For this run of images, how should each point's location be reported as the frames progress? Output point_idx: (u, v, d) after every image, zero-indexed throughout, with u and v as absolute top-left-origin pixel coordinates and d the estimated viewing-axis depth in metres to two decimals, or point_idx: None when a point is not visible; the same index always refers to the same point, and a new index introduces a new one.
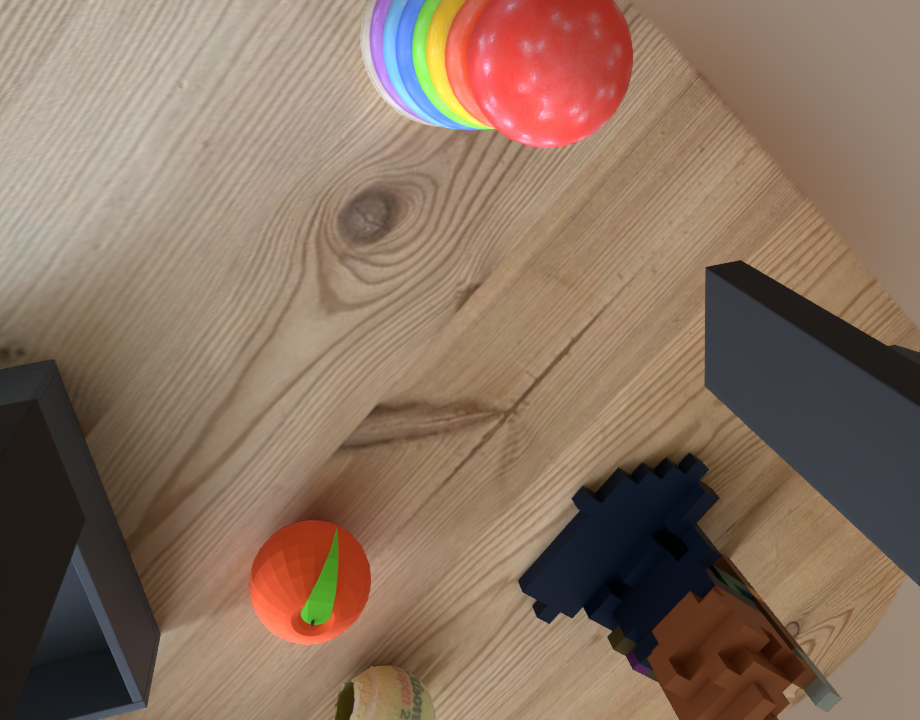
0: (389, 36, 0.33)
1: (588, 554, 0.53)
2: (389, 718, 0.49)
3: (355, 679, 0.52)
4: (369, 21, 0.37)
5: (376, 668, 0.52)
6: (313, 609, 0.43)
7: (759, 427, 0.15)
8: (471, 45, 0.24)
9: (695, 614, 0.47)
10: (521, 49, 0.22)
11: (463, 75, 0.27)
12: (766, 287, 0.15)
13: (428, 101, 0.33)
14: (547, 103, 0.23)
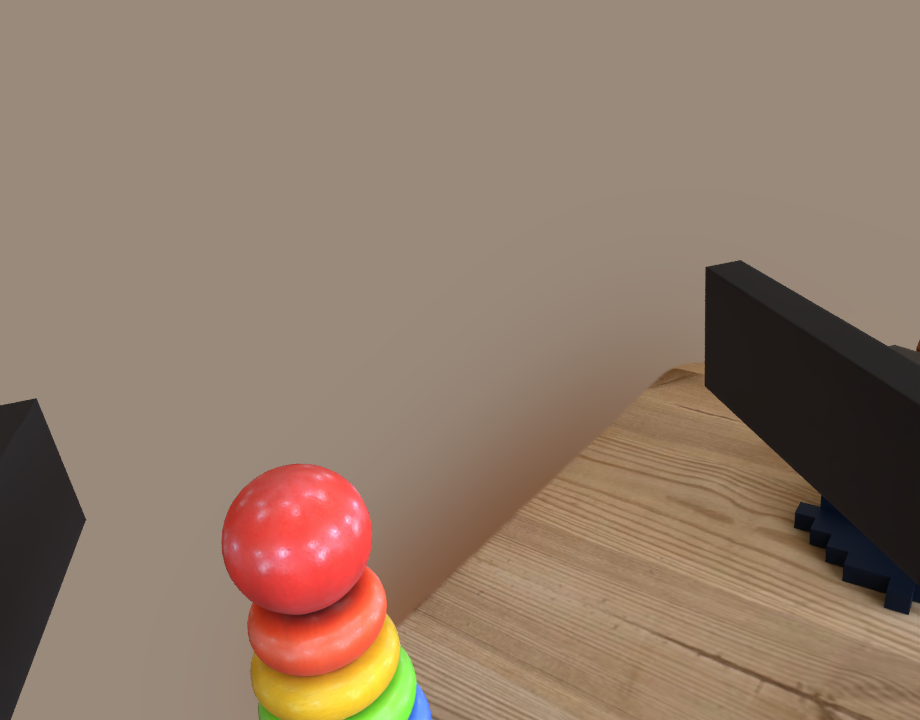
0: None
1: None
2: None
3: None
4: None
5: None
6: None
7: (759, 427, 0.15)
8: (271, 587, 0.25)
9: None
10: (263, 518, 0.25)
11: (321, 636, 0.27)
12: (766, 287, 0.15)
13: None
14: (309, 491, 0.26)
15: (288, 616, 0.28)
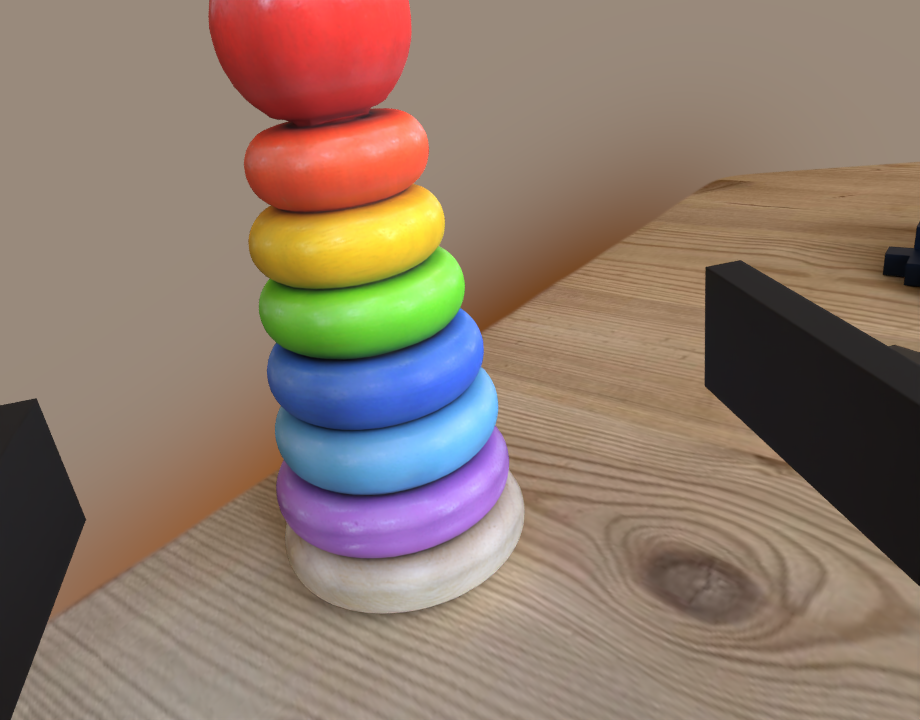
0: (366, 455, 0.22)
1: None
2: None
3: None
4: (371, 576, 0.23)
5: None
6: None
7: (758, 427, 0.15)
8: (277, 31, 0.18)
9: None
10: None
11: (345, 136, 0.20)
12: (766, 287, 0.15)
13: (439, 350, 0.22)
14: None
15: (299, 130, 0.20)
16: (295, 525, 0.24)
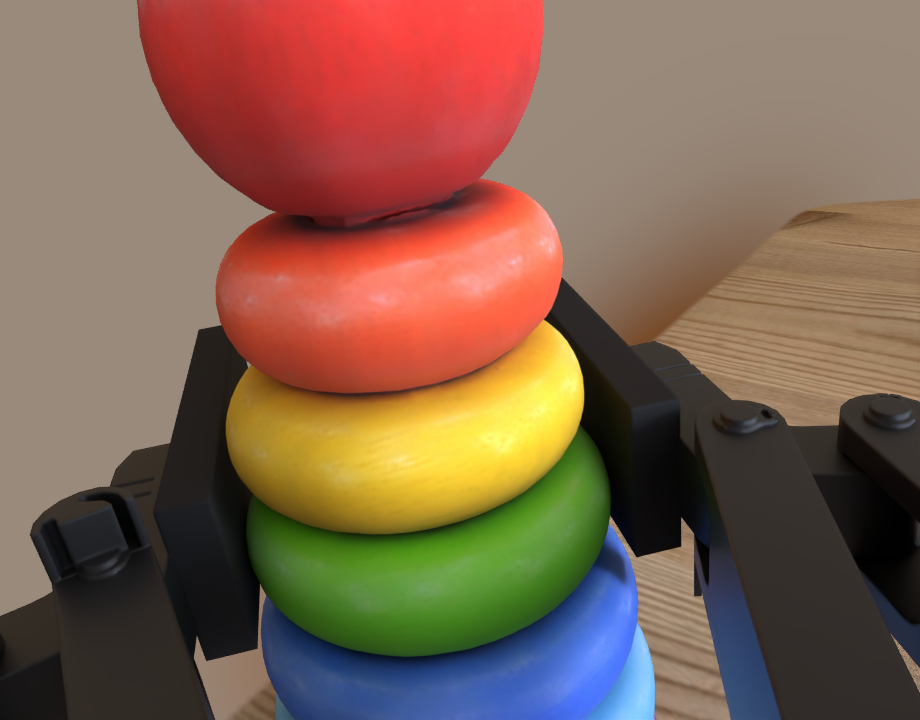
0: None
1: None
2: None
3: None
4: None
5: None
6: None
7: None
8: (279, 42, 0.08)
9: None
10: None
11: (418, 258, 0.09)
12: None
13: (578, 629, 0.12)
14: None
15: (322, 235, 0.10)
16: None
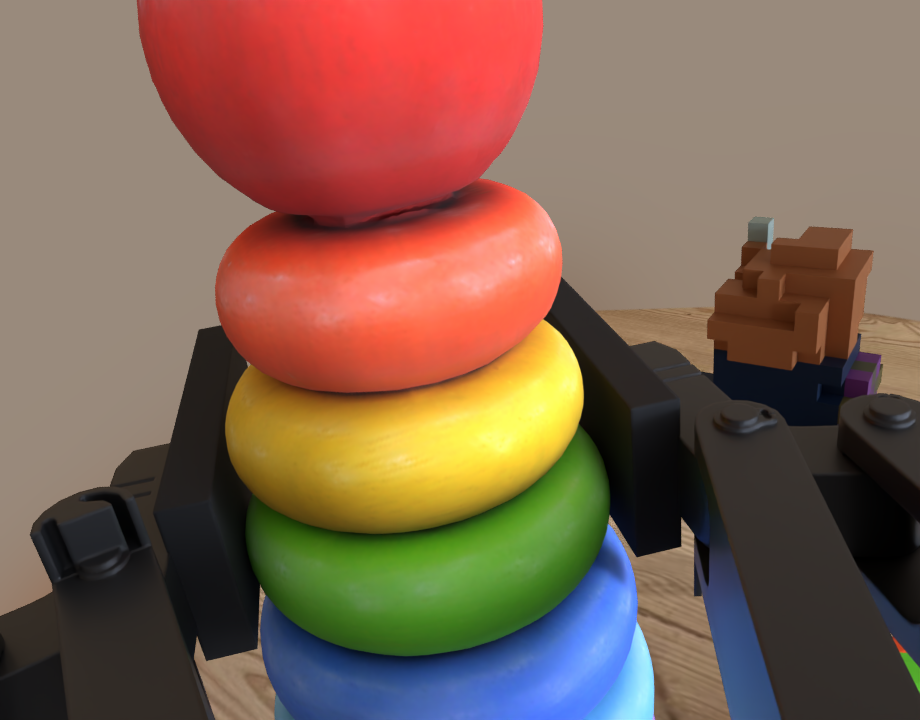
0: None
1: None
2: None
3: None
4: None
5: None
6: None
7: None
8: (279, 42, 0.08)
9: (737, 337, 0.44)
10: None
11: (418, 257, 0.09)
12: None
13: (577, 629, 0.12)
14: None
15: (321, 235, 0.10)
16: None
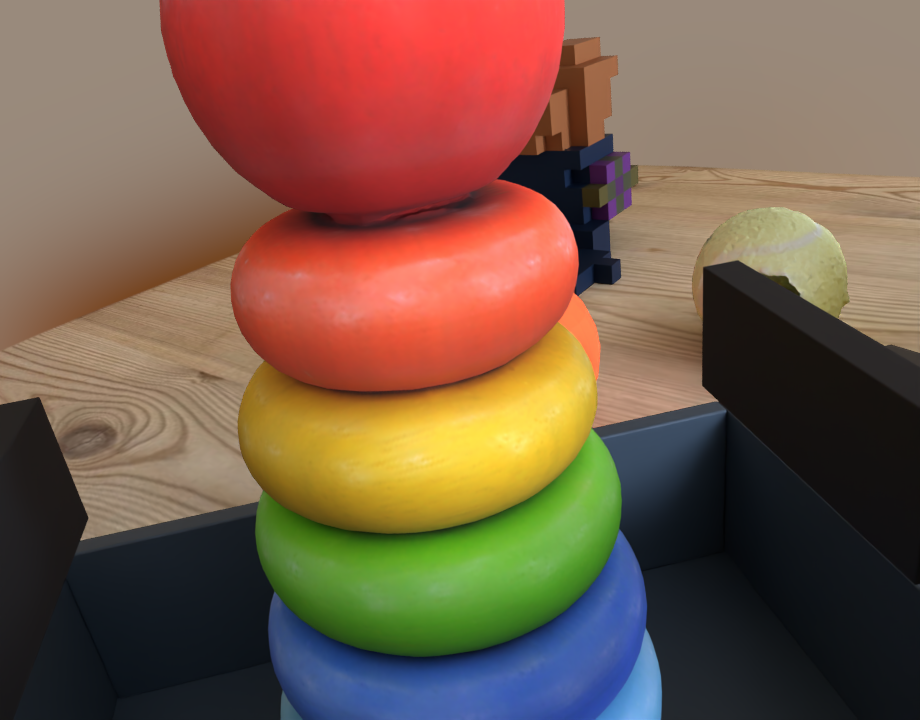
0: None
1: None
2: (713, 242, 0.35)
3: None
4: None
5: None
6: None
7: (755, 427, 0.15)
8: (305, 38, 0.08)
9: None
10: None
11: (438, 256, 0.09)
12: (763, 287, 0.15)
13: (588, 631, 0.12)
14: None
15: (340, 233, 0.10)
16: None
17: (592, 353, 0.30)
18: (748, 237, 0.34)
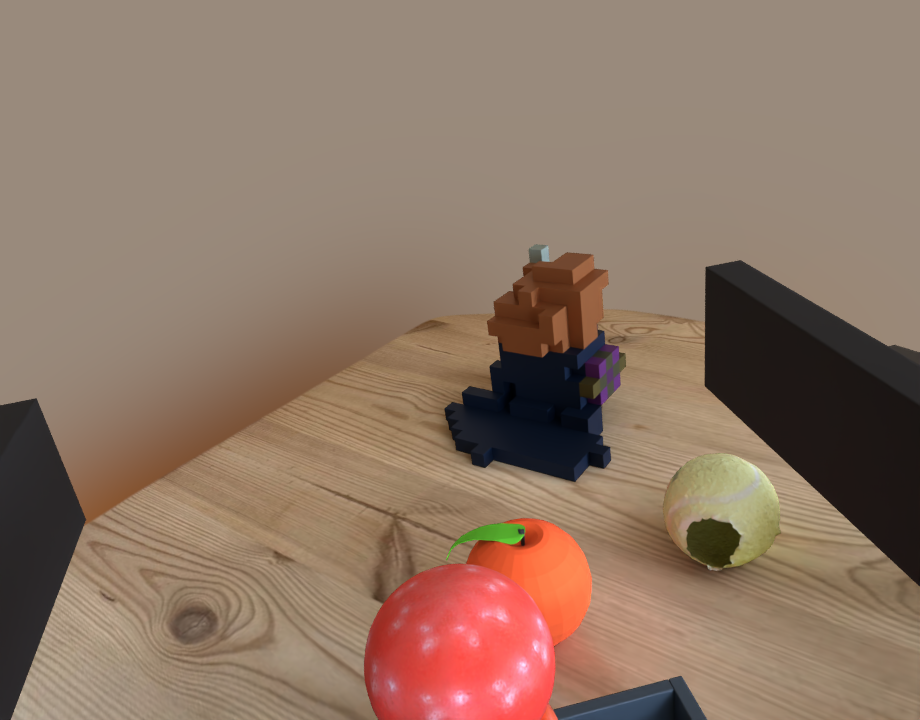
0: None
1: (531, 440, 0.60)
2: (678, 484, 0.46)
3: (685, 550, 0.46)
4: None
5: (674, 542, 0.47)
6: (506, 534, 0.42)
7: (759, 427, 0.15)
8: None
9: (507, 334, 0.61)
10: (431, 650, 0.19)
11: None
12: (766, 287, 0.15)
13: None
14: (486, 611, 0.20)
15: None
16: None
17: (585, 592, 0.41)
18: (703, 487, 0.45)
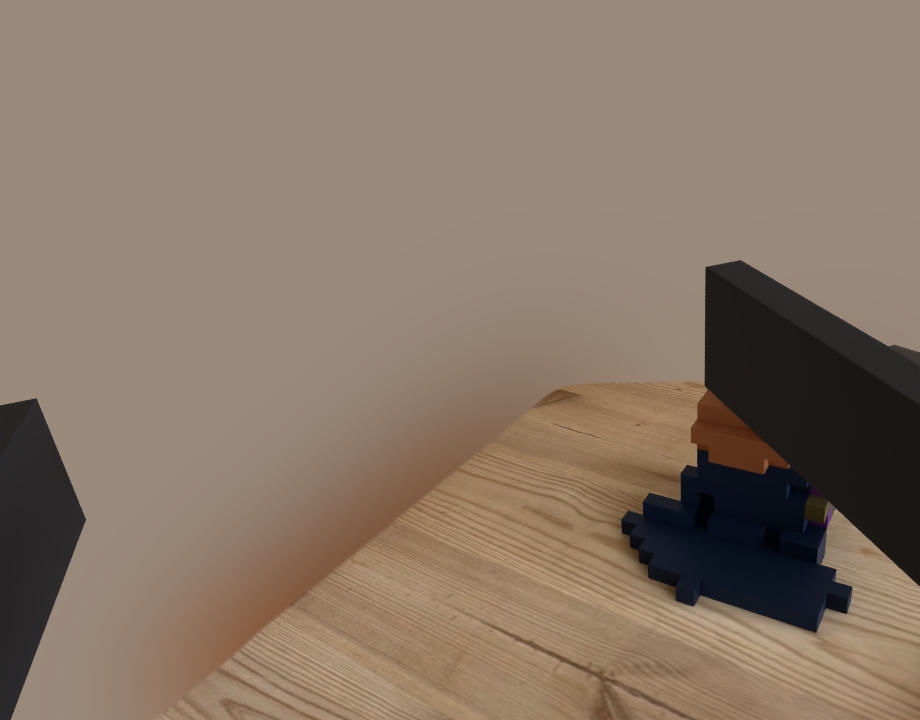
0: None
1: (747, 572, 0.50)
2: None
3: None
4: None
5: None
6: None
7: (759, 427, 0.15)
8: None
9: (717, 443, 0.51)
10: None
11: None
12: (766, 287, 0.15)
13: None
14: None
15: None
16: None
17: None
18: None
